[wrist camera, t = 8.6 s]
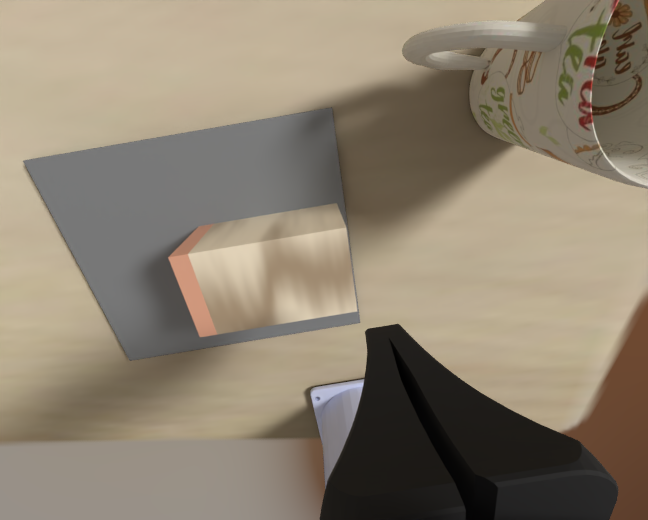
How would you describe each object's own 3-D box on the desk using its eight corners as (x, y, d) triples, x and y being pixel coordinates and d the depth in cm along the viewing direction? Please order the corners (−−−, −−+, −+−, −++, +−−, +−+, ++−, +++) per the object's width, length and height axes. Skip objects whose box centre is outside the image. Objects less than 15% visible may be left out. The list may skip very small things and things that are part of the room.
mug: (559, 162, 20) (766, 196, 11) (369, 150, 19) (426, 177, 10) (615, 2, 17) (974, -133, 8) (388, -22, 16) (499, -207, 7)
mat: (359, 319, 24) (360, 322, 24) (133, 356, 25) (129, 360, 24) (331, 107, 18) (332, 107, 18) (30, 159, 18) (22, 160, 18)
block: (221, 292, 22) (346, 272, 22) (199, 337, 18) (357, 311, 18) (198, 226, 20) (336, 203, 20) (168, 257, 16) (346, 227, 16)
